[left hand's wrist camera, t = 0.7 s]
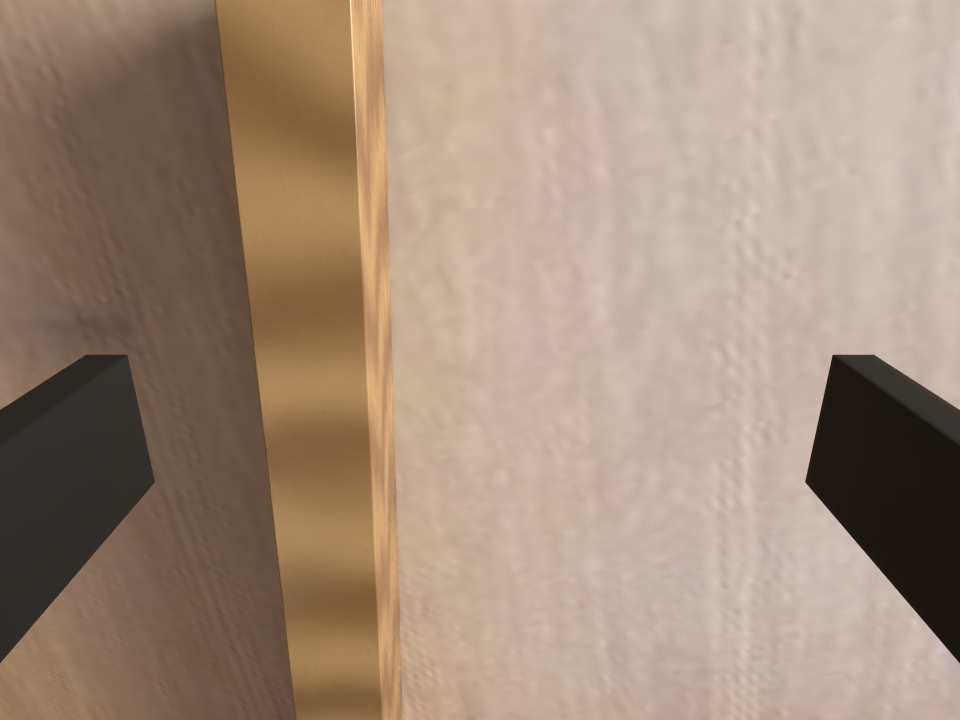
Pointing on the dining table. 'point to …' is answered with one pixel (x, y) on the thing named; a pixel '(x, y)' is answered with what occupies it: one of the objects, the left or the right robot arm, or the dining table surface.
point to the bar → (321, 333)
